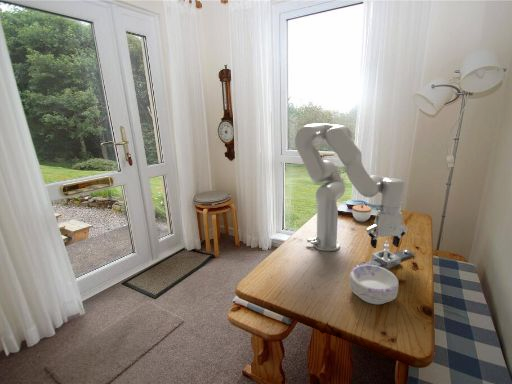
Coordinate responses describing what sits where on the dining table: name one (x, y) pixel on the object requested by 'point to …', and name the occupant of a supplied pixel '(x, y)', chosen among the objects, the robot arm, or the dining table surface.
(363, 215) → the lidded jar
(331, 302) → the dining table surface
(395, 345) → the dining table surface
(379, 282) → the paper bowls
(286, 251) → the dining table surface
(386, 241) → the chess piece
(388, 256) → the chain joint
